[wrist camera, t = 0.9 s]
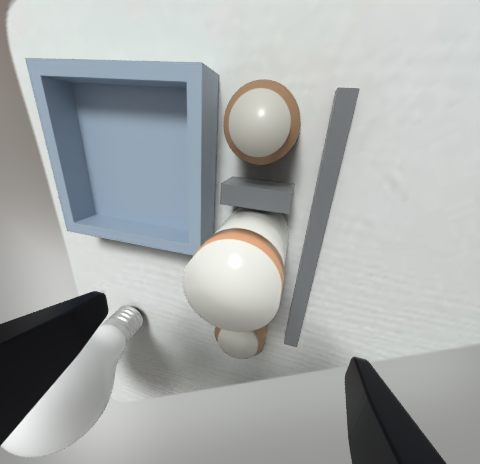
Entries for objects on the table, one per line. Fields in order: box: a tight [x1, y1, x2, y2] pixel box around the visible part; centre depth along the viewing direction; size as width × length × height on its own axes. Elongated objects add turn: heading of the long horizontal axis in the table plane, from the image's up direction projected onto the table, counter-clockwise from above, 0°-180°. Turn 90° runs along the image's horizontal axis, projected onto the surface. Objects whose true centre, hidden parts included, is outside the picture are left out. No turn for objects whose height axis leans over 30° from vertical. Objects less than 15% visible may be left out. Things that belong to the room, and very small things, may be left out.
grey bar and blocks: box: [220, 88, 359, 347], centre depth 15 cm, size 6×18×2 cm, turn 176°
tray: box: [25, 58, 219, 256], centre depth 15 cm, size 11×11×2 cm
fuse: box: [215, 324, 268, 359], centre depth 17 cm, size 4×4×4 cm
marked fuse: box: [183, 207, 289, 332], centre depth 13 cm, size 4×4×7 cm
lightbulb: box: [1, 306, 143, 458], centre depth 18 cm, size 6×6×11 cm
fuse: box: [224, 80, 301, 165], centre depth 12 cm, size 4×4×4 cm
